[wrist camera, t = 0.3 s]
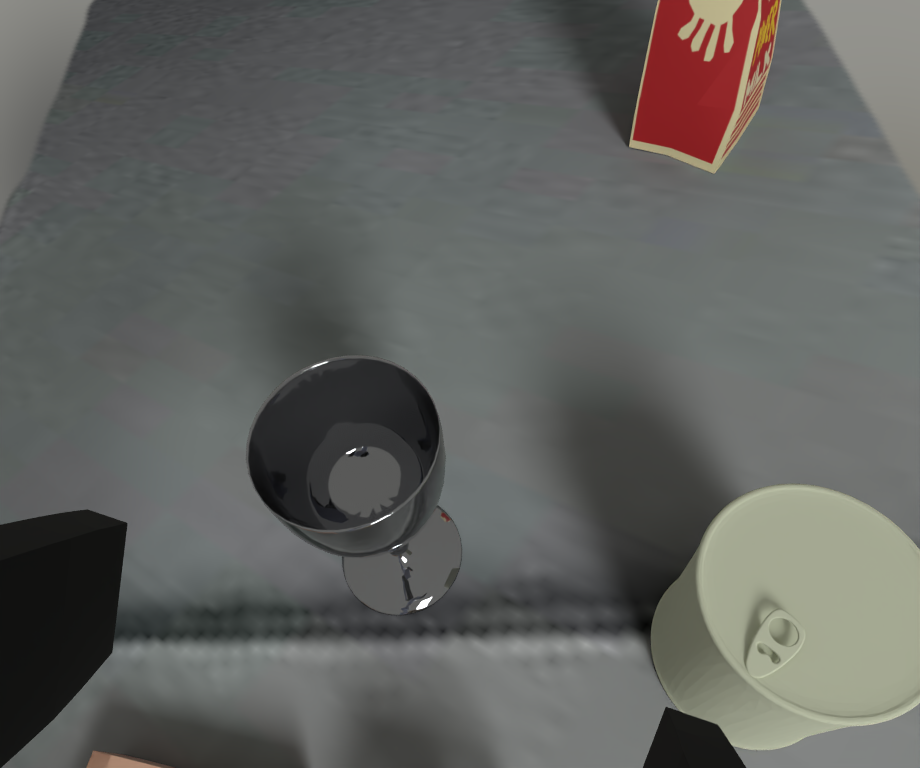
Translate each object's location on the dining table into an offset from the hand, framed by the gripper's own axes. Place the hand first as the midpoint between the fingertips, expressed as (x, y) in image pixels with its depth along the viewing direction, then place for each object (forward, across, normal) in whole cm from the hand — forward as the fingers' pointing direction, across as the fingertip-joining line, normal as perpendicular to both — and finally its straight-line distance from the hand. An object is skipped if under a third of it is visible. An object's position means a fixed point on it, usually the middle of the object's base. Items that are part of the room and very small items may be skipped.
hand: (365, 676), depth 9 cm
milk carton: (+56, -6, -16) cm, 59 cm away
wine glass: (+28, +5, +15) cm, 32 cm away
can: (+27, -14, +13) cm, 33 cm away
